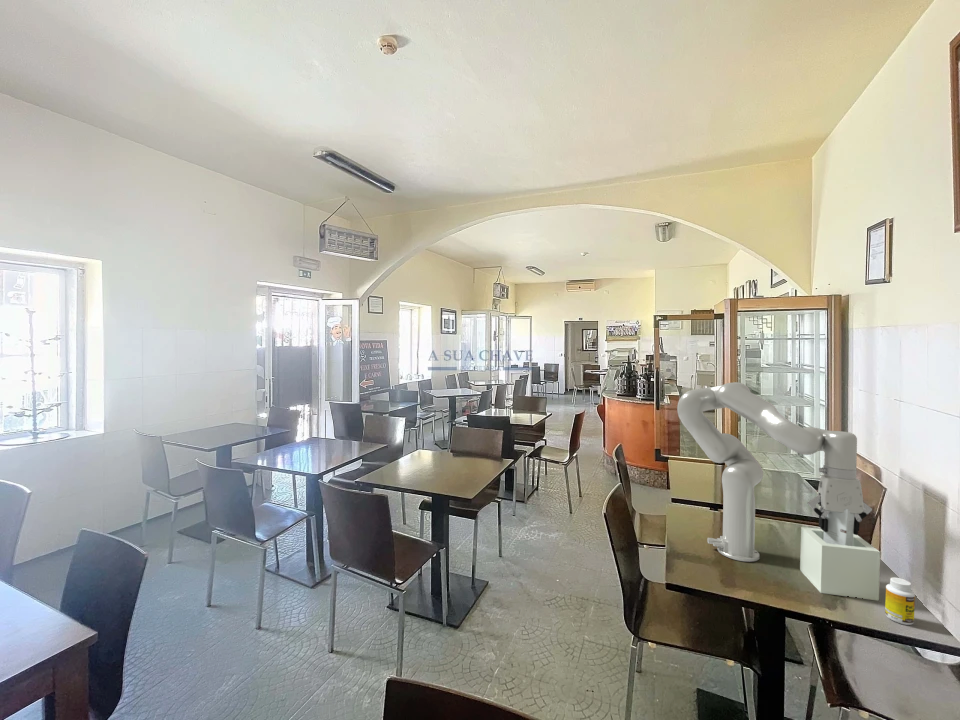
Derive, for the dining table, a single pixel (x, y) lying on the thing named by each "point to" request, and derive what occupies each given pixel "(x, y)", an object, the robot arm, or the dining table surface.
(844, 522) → the skincare box
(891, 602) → the supplement bottle
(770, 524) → the dining table surface
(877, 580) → the holder
